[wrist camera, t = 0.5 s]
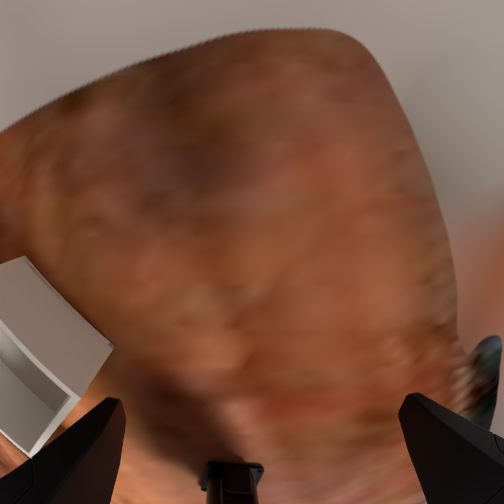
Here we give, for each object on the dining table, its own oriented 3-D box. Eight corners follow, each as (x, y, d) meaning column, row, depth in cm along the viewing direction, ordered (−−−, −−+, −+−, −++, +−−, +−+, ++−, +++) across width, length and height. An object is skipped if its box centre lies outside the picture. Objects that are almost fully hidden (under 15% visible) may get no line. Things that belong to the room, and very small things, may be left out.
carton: (115, 346, 23) (81, 398, 16) (60, 414, 24) (32, 459, 17) (24, 255, 21) (-32, 276, 13) (-13, 342, 22) (-52, 373, 14)
